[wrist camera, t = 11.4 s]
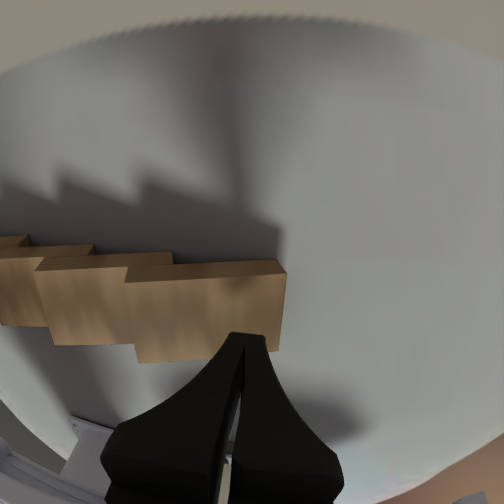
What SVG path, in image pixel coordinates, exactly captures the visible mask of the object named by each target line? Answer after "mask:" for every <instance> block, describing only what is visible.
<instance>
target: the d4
mask: <svg viewBox="0 0 504 504" xmlns="http://www.w3.org/2000/svg"><path fill="white" fill-rule="evenodd" d="M20 247H31V246H30V241H29V235H28V234H27V235H16V236H5V237H0V249H2V248H20Z"/></svg>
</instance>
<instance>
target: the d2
mask: <svg viewBox="0 0 504 504" xmlns="http://www.w3.org/2000/svg"><path fill="white" fill-rule="evenodd" d="M153 265H173V257H172V251H163V252H145V253H126V254H108V255H90V256H72V257H55V258H43V260H42V261H41V262H40V264H39V265H38V267H37V268H36V269H35V271H34V274H35V278H36V282H37V286H38V290H39V294H40V298H41V302H42V306H43V309H44V313H45V316H46V320H47V323H48V326H49V329H50V333H51V336H52V339H53V342H54V345H107V344H133V343H134V340H133V335H132V329H131V324H130V318H129V312H128V306H127V299H126V293H125V286H124V281H125V277H126V273H127V269H128V267H132V266H153Z"/></svg>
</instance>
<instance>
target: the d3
mask: <svg viewBox="0 0 504 504" xmlns="http://www.w3.org/2000/svg"><path fill="white" fill-rule="evenodd" d="M90 255H95V251H94V244H81V245H60V246H39V247H20V248H2V249H0V323H1V325H4V326H29V327H49V326H48V323H47V320H46V316H45V313H44V309H43V306H42V302H41V298H40V294H39V290H38V286H37V282H36V278H35V274H34V271H35V269H36V268H37V267H38V265H39V264H40V262H41V261H42V260H43V258H55V257H72V256H90Z"/></svg>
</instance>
